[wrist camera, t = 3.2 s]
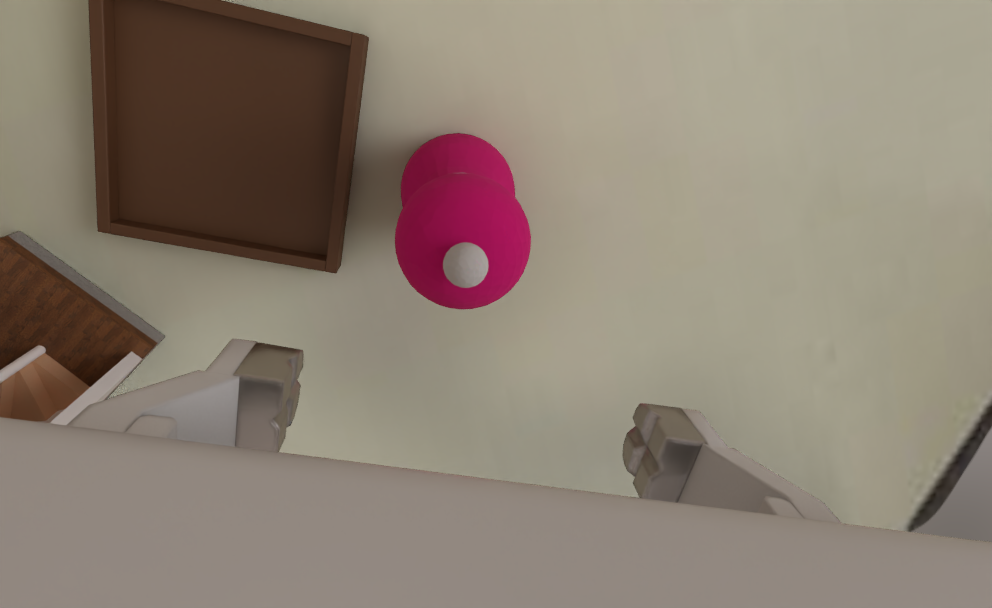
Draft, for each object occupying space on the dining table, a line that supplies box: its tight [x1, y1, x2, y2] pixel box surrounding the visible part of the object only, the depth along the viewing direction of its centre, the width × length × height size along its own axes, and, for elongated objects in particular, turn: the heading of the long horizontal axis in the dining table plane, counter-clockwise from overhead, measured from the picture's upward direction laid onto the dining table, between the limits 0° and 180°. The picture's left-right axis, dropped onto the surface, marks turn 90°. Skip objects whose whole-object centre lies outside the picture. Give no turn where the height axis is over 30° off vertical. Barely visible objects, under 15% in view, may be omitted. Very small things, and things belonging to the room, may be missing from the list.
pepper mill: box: [395, 133, 531, 309], centre depth 30 cm, size 7×7×20 cm
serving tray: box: [89, 0, 369, 273], centre depth 36 cm, size 16×16×2 cm
